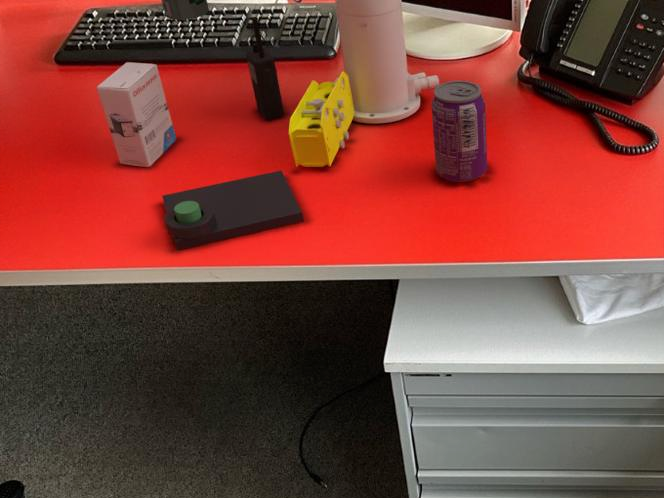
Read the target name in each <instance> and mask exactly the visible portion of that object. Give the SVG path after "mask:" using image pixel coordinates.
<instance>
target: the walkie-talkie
mask: <svg viewBox="0 0 664 498" xmlns="http://www.w3.org/2000/svg"><path fill="white" fill-rule="evenodd" d="M251 23H252V27H253V32H254V37H255V43H252V44H251V47H252V50H249V51H247V53H246V54H245V57H246V60H247V66H248V70H249V76H250V79H251V85H252V89H253V94H254V99H255V104H256V108H257V112H258V113H259V114H260V115H261V116H262V117H263V119H265V121H273V120H276V119H280V118H284V116H285V110H284V109H285V108H284V103H283V99H282V93H281V88H280V83H279V78H278V71H277V66H276V62H275V57H274V56H273V55H272V54H270V52H269V51H268V50H267V49H265V48H264V45H263V39H262V35H261V30H260V26H259V19H258V18H257V17H256V16H255V17H252V18H251Z"/></svg>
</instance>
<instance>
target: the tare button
mask: <svg viewBox="0 0 664 498" xmlns="http://www.w3.org/2000/svg"><path fill="white" fill-rule="evenodd" d="M174 211H175V215H176V218H177V221H178V222H179V223H191V222H195V221H197V220H199V219H201V218H202V214H201V210H200V207H199V204H198V203H197V202H194V201H185V202H181V203H179V204H177V205H176V206H175V208H174Z"/></svg>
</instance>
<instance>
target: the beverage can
mask: <svg viewBox="0 0 664 498" xmlns="http://www.w3.org/2000/svg"><path fill="white" fill-rule="evenodd" d="M433 95H434V96H433V98H432V101H431V106H430V107H431V108H430V109H431V120H432V134H433V148H434V160H435V171H436V174H437V175H438V176H439V177H441V178H442V179H445V180H448V181H451V182H456V183H465V182H466V183H467V182H471V181H473V180H476V179H478V178H481V177H482V176H484V175H485V174H486V173H487V171H488V145H487V143H488V142H487V141H488V140H487V111H486V101H485V99H484V96H483V95H482V88H481V86H480V85H479V84H477V83H476V82H473V81H468V80H450V81H445V82H442V83H439V85H438V86H437V87H436V88H434V89H433Z"/></svg>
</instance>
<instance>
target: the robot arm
mask: <svg viewBox="0 0 664 498" xmlns="http://www.w3.org/2000/svg"><path fill="white" fill-rule="evenodd" d="M334 3H335V14H336V20H337V27H338V34H339V40H340V41H339V42H340V48H341V56H342V63H343V69H344V72H345V73H346V74H347V75H348V78H349V83H350V89H351V95H352V100H353V107H354V112H355V114H354V117H353V119H352V121H353V122H357V123H361V124H372V125H373V124H375V125H381V124H388V123H395V122H398V121H401V120H403V119H406V118H408V117H410V116H412V115H413V114H415V113H417V111H418V110H419V109H420V107H421V96H420V94H421V92H422V91H425V90H428V91H429V90H434V89H435V88H436V87H437V86H438V85H440V78H439V76H438V75H437V74H433V75H428V76H427V75H426V73H425V72H424V71H423V72H418V73H415V74H411V73H409V71H408V60H407V48H406V37H405V27H404V26H405V25H404V16H403V7H402V3H403V2H402V0H334Z"/></svg>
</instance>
